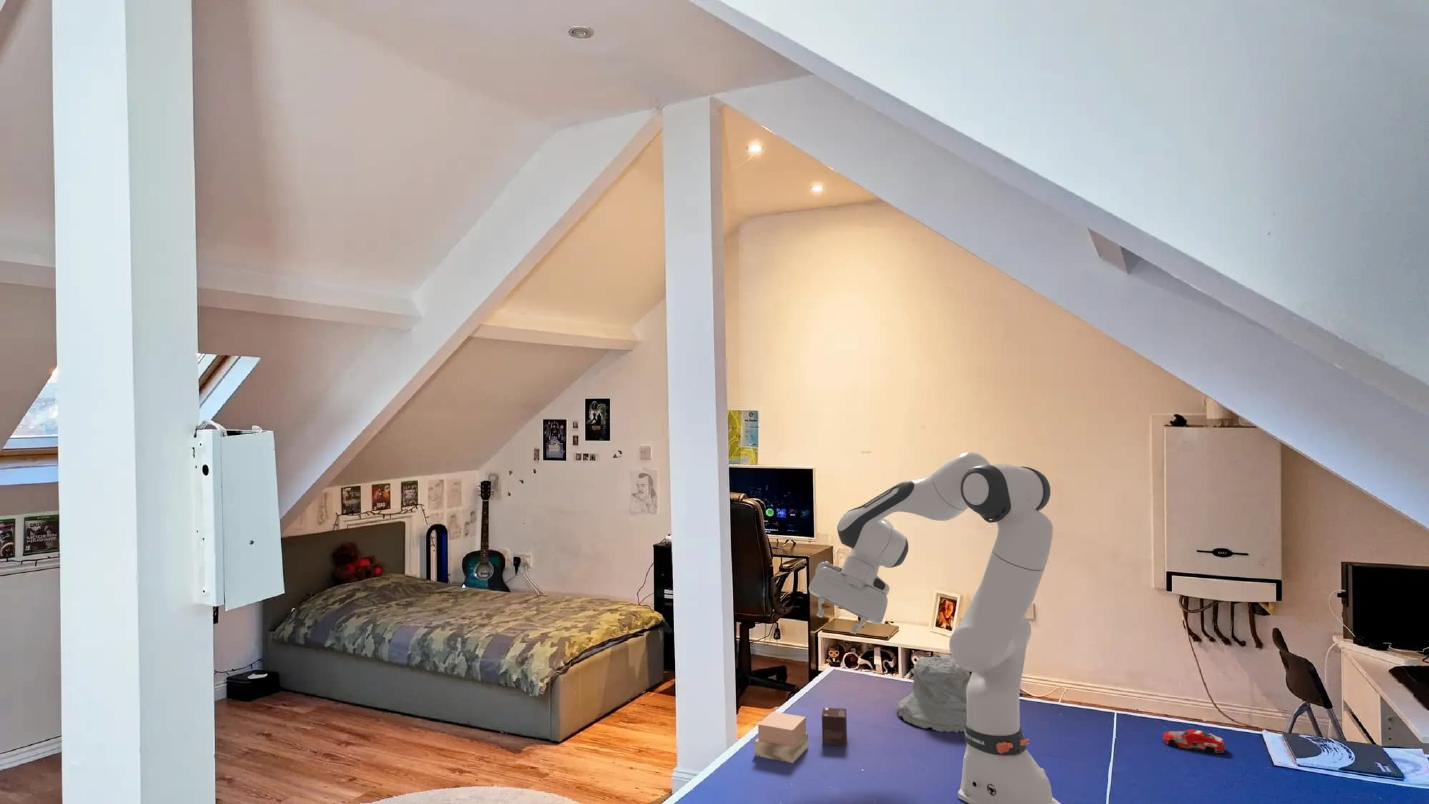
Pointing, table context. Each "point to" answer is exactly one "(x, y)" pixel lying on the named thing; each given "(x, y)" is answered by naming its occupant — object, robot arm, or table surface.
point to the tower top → (782, 729)
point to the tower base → (781, 750)
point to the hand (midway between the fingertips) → (836, 624)
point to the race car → (1195, 740)
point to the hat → (937, 695)
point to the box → (834, 726)
